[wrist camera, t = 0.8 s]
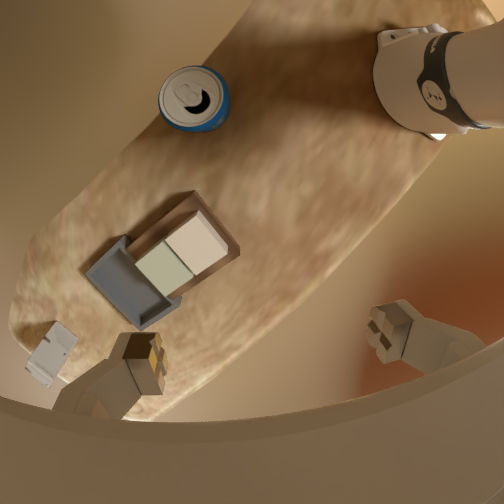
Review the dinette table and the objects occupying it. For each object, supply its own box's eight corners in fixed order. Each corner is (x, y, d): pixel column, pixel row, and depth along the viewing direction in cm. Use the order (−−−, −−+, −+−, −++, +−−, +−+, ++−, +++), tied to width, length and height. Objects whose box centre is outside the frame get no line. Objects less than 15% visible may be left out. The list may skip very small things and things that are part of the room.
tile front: (198, 209, 34) (196, 215, 32) (227, 245, 36) (227, 253, 34) (168, 232, 35) (164, 239, 33) (198, 266, 37) (195, 275, 35)
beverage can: (204, 142, 34) (190, 146, 23) (169, 110, 32) (140, 100, 21) (241, 107, 32) (244, 94, 21) (205, 74, 30) (192, 49, 19)
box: (125, 234, 38) (119, 240, 36) (182, 296, 43) (179, 306, 40) (90, 266, 40) (84, 274, 37) (144, 322, 44) (140, 331, 42)
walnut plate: (195, 190, 36) (191, 194, 33) (239, 246, 40) (240, 255, 37) (132, 241, 38) (125, 249, 36) (176, 289, 42) (173, 300, 39)
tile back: (166, 235, 35) (161, 242, 33) (195, 268, 38) (192, 277, 35) (140, 256, 36) (134, 264, 34) (168, 287, 38) (165, 296, 36)
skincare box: (79, 338, 46) (55, 381, 34) (72, 348, 47) (50, 390, 36) (55, 318, 44) (27, 359, 32) (50, 330, 45) (23, 369, 34)
